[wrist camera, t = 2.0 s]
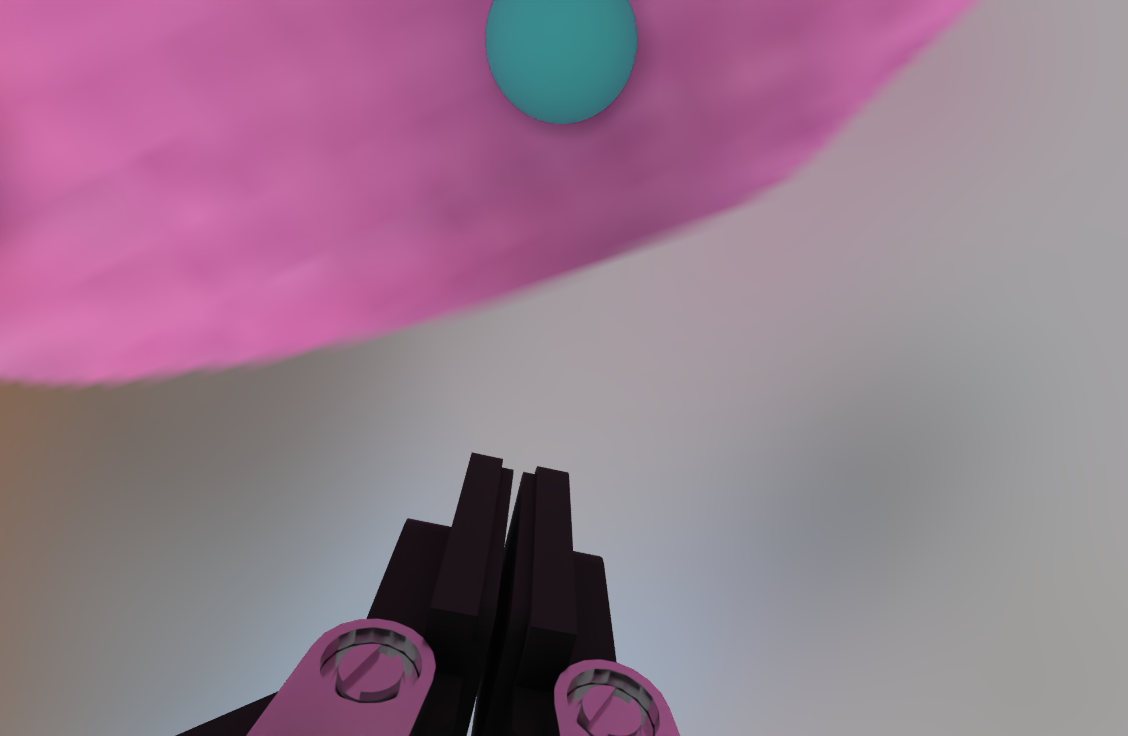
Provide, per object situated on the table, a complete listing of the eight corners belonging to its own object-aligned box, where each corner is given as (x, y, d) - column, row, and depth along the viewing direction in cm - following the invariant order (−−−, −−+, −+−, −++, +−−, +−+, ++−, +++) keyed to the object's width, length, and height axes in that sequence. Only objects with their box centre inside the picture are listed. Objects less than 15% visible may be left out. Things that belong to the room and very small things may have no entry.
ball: (507, -41, 23) (496, -91, 18) (644, -3, 23) (667, -42, 19) (480, 108, 24) (462, 97, 20) (608, 141, 25) (622, 138, 20)
